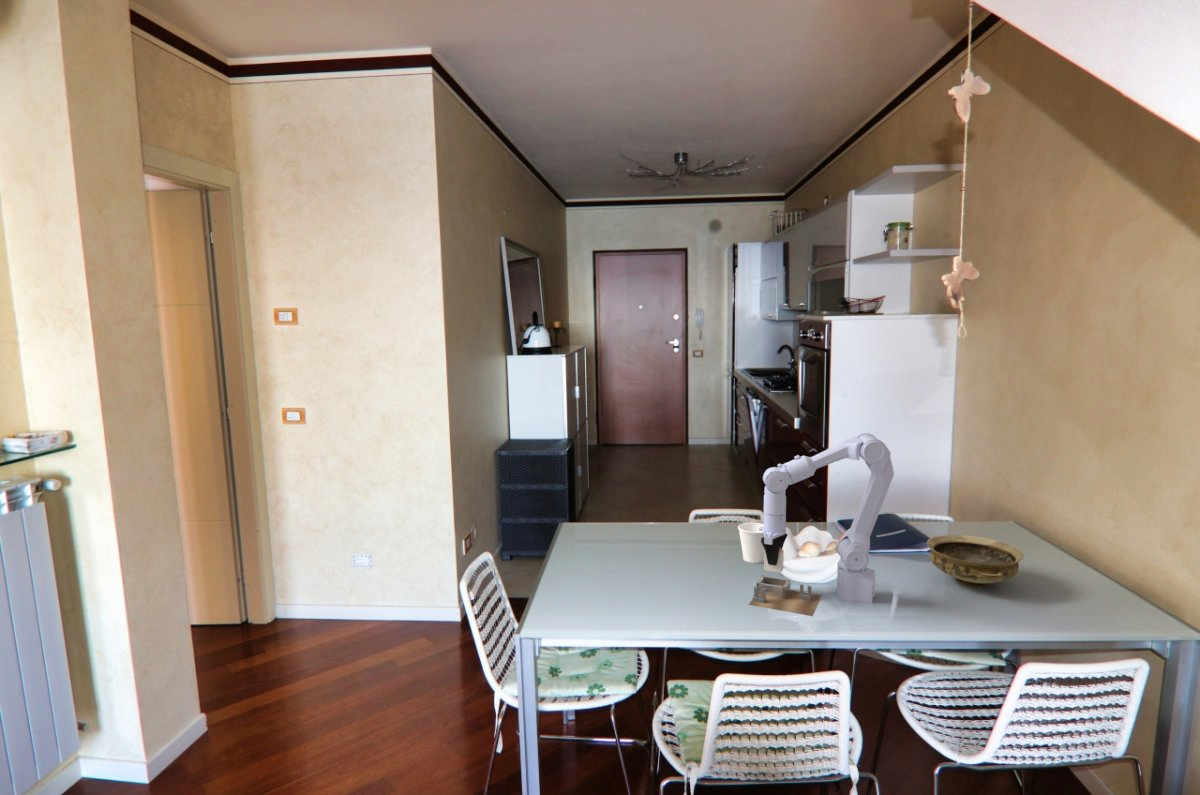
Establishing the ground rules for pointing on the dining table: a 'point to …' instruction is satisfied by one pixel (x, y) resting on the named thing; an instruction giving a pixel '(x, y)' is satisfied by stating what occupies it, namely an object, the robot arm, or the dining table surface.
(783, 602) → the board
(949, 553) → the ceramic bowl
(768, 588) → the end holder
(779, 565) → the connector
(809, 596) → the clip
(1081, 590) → the dining table surface
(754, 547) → the cup
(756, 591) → the clip
